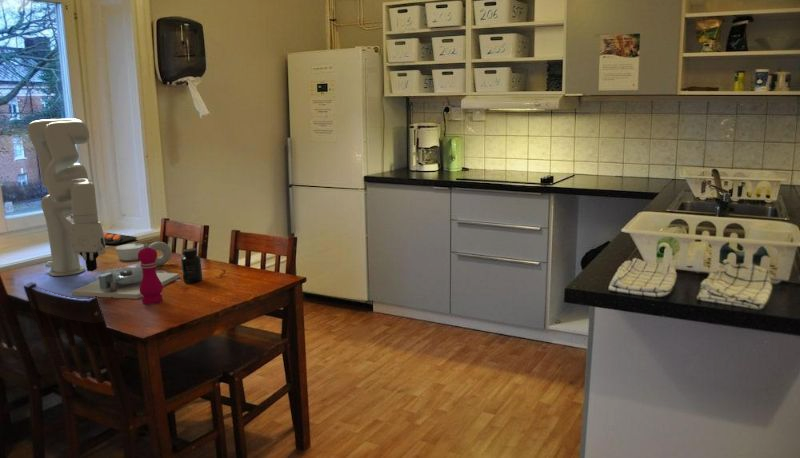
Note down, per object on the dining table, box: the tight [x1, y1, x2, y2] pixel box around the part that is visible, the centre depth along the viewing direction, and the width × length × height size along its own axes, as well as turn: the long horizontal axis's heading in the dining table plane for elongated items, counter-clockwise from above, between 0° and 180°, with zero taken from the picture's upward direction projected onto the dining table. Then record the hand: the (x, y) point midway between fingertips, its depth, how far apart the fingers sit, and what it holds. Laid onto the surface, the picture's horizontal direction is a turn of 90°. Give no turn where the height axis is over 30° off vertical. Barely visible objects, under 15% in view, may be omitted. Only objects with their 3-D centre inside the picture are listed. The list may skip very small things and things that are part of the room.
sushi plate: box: [103, 231, 137, 245], centre depth 311 cm, size 29×30×4 cm
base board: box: [71, 272, 180, 300], centre depth 239 cm, size 26×26×3 cm
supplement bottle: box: [180, 248, 203, 285], centre depth 242 cm, size 7×7×12 cm
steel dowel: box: [109, 281, 117, 292], centre depth 228 cm, size 2×2×4 cm
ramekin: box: [115, 243, 144, 262], centre depth 280 cm, size 11×11×5 cm
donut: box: [149, 241, 172, 267], centre depth 266 cm, size 10×4×10 cm, turn 126°
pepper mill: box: [137, 243, 164, 305], centre depth 218 cm, size 7×7×20 cm
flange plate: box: [98, 267, 143, 289], centre depth 236 cm, size 22×18×4 cm
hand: (92, 270), depth 228 cm, fingers closed
